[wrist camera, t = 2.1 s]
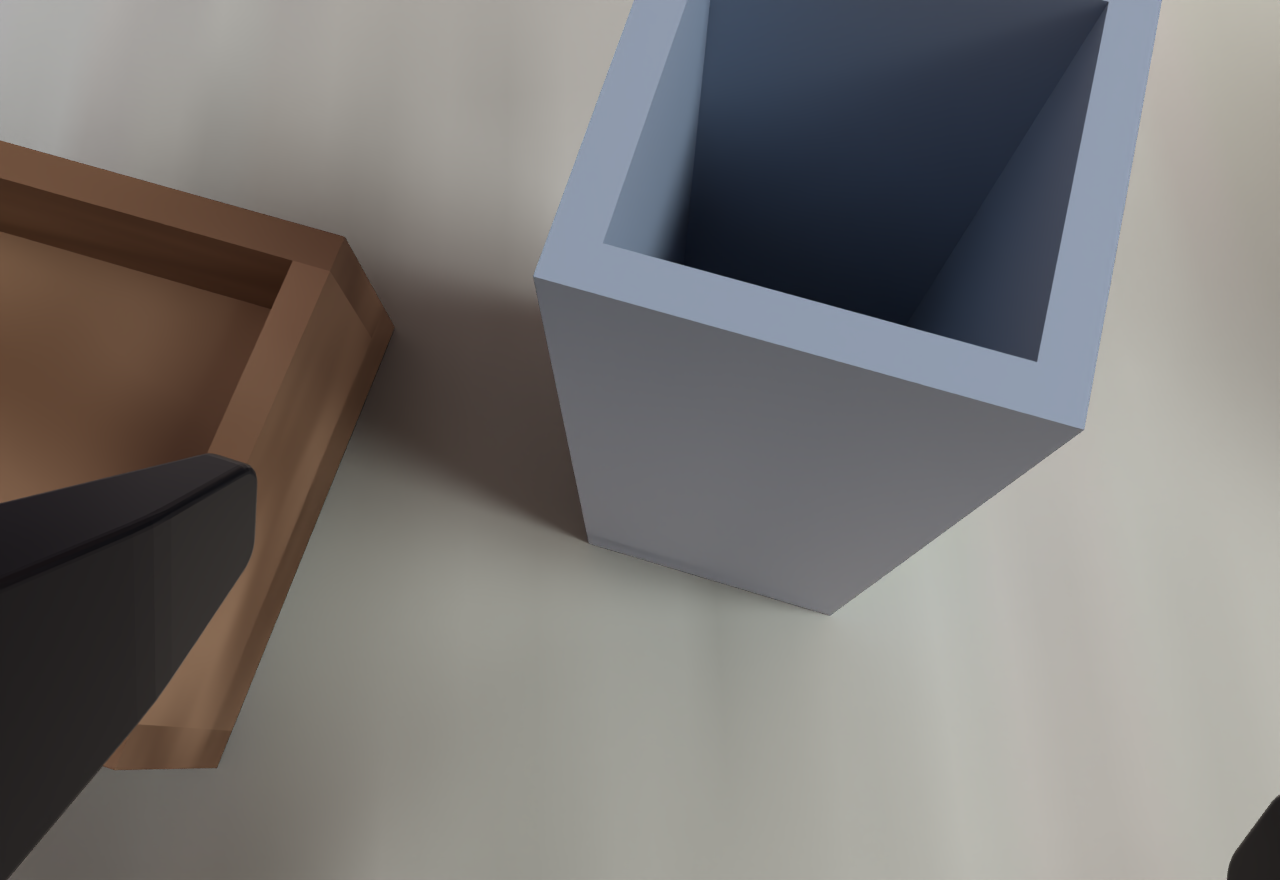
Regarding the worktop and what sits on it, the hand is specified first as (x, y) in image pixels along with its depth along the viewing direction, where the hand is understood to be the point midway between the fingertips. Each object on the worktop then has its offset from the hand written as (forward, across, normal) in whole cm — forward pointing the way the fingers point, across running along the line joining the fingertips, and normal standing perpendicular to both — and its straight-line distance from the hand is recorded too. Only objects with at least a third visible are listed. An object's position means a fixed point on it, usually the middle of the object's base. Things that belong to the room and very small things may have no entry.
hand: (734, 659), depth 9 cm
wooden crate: (+9, +13, +7) cm, 17 cm away
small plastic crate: (+12, 0, +4) cm, 13 cm away
